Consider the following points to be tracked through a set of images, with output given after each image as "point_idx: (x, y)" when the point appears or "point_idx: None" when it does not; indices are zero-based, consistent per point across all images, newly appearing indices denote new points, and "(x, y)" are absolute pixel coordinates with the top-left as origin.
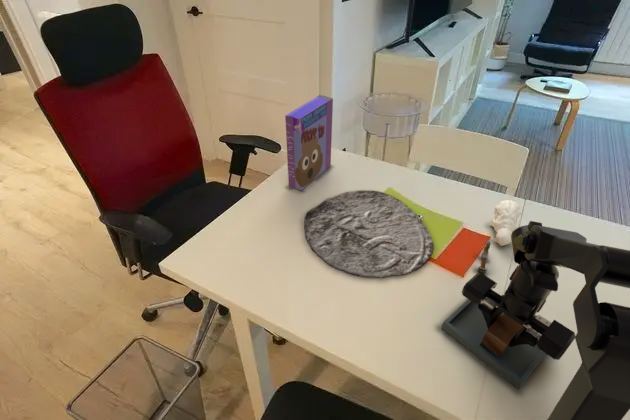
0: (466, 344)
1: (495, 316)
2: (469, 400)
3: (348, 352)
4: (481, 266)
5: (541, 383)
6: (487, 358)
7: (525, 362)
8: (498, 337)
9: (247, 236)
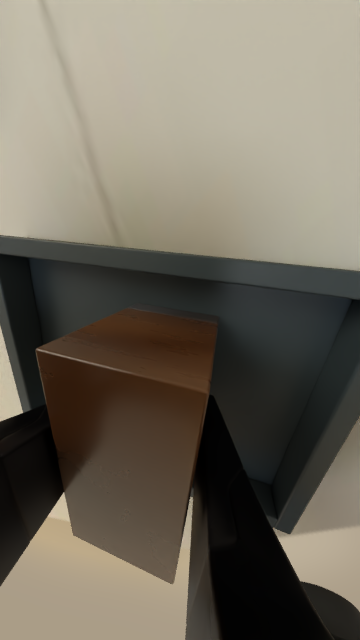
0: None
1: (24, 501)
2: (189, 529)
3: None
4: None
5: (350, 446)
6: None
7: (279, 418)
8: (125, 557)
9: None
